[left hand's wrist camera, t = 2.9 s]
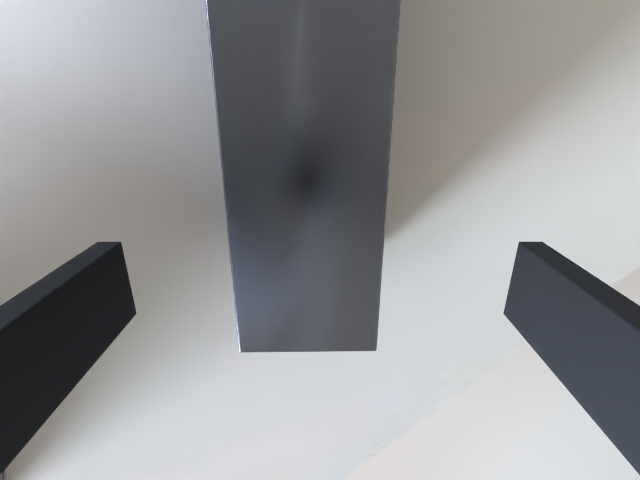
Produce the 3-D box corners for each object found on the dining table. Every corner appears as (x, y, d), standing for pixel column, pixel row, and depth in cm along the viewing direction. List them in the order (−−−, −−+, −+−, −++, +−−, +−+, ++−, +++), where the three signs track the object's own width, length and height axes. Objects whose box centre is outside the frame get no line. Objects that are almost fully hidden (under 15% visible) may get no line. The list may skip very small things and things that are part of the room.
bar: (355, 265, 23) (376, 351, 15) (264, 265, 23) (239, 352, 15) (380, -389, 13) (474, -1068, 6) (224, -392, 13) (98, -1088, 5)
